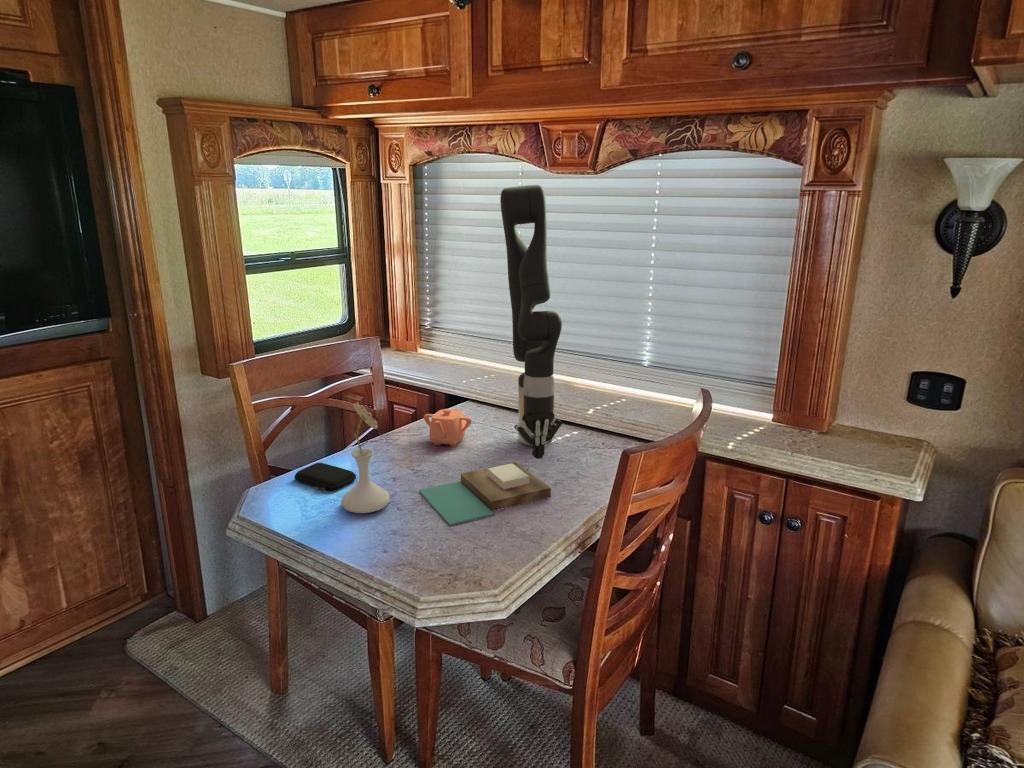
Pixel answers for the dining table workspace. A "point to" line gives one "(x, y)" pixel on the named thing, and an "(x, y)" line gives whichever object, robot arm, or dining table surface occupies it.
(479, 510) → the mat
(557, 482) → the dining table surface
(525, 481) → the tile
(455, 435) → the teapot
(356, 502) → the flower in vase
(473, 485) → the brown wooden board
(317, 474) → the carrying case or bag
